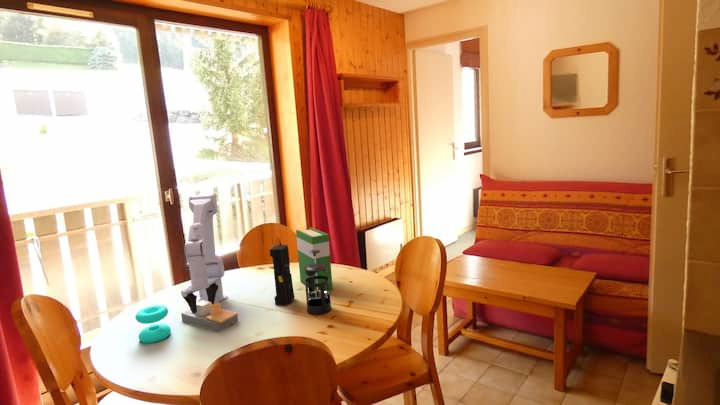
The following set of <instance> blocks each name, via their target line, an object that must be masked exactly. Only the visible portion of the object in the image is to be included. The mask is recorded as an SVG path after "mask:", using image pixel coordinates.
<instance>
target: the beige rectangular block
mask: <svg viewBox="0 0 720 405" xmlns="http://www.w3.org/2000/svg"><path fill="white" fill-rule="evenodd" d="M210 305H212V303H211V302H209V301H204V300H202V301H196V307H197V313H195V315H198V316H202V317H204V316H206V315H208V314H210Z"/></svg>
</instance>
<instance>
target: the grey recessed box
mask: <svg viewBox="0 0 720 405" xmlns="http://www.w3.org/2000/svg"><path fill="white" fill-rule="evenodd" d="M222 309H223V308H221V310H222ZM180 315H181V322H185V323H187V324H191V325H194V326H197V325H198V326H197V327H202V328H203V329H204V328H205V329H208V330H211V331H215V332H220V331H222V330H224V329H226V328H228V327H229V326H232V325H234V324H235V323H238V321H239V318H238V315H236V316H234V317H232V318H230V319H228V320H226V321H224V322H222V323H219V322H216V321H212V320H209V319H206V317H207V316H209V315H211V314H208V315H206V316H204V317H202V316H198V315H195V313H193V312H191V309H190V308H189V310H188V309H187V310H186V311H183V312H181V313H180Z"/></svg>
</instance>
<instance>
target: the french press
mask: <svg viewBox="0 0 720 405" xmlns="http://www.w3.org/2000/svg"><path fill="white" fill-rule="evenodd" d="M319 252H320V251H319V250H312V251H309V253H310V254H313V255H314V258H315V256H316V253H319ZM327 268H328V265H327V264H323V263H316V259H315V264H310V265H307V266H305V267H304V270H305V274H306V275H308V278H307V279H305V285H304V289H305V296H306V297H305V298H306V313H307V314H309V315H311V316H322V315H326V314H329V313H330V312H332V309H333V308H332V307H333V306H332V302H331V293H330V292H331V290H329V278H328V277H327V276H317V272H318V271H322V270H323V271H325V272H327ZM315 273H316V276H313V275H314V274H315ZM314 279H316V282H317V279H325V280H326V281H325V282H322V283H317V284H315V282H314ZM307 282H308V283H307ZM325 285H327V291H326V290H325ZM308 287H309V288H308ZM315 287H317V290H315ZM318 287H320V290H318Z"/></svg>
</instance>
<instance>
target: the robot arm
mask: <svg viewBox="0 0 720 405" xmlns="http://www.w3.org/2000/svg"><path fill="white" fill-rule="evenodd" d="M188 206H189V210H190V211H191V213H193V224H192V225H190V227H189V232H188V236H187V239H188V240H187V242H184V254H185V258H186V262H187V263H188V268H189V269H188V270H189V276H190V283H191V285H189V286H187V287H186V288H185V289H182V290H180V293H181V294H180V295H181V297H183V299H184V300H185V302H186V303H187V305H188V307H189V310H190V309H191V312H193V313H197V307H196V303H197V302H199V301H202V300H204V301H209V302H211V303H212V304H215V303H217V302H219V303H220V302H221V301H223V300H225V299H228V298H229V296H228V295H224V291H223V282H222V278H223V277H224V276H225V266H224V260H223V258H222V257H220V256H219V255H217V254H216V247H215V246H216V245H215V232H214V215H216V214H217V213H218V203H217V195H216V194H215V193H206V194H205V193H204V194H195V195H194V194H190V196H189V197H188ZM197 292H198V293H199V298H198V295H196V294H194V293H197ZM197 298H198V301H197Z"/></svg>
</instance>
